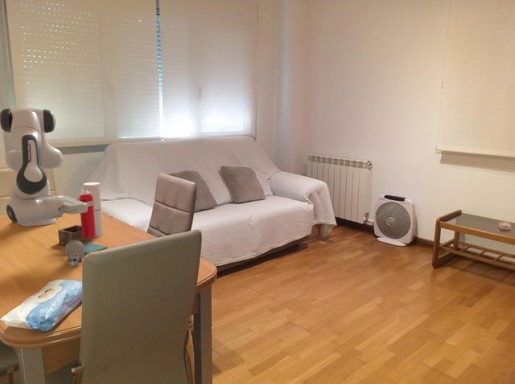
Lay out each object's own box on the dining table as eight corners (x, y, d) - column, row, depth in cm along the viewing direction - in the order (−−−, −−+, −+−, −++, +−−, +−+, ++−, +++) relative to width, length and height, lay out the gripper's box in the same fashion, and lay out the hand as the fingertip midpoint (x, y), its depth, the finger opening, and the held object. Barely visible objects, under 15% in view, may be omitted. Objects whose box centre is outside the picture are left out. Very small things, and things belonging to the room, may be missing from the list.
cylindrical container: (97, 237, 191) (94, 185, 186) (83, 236, 192) (80, 184, 187) (105, 232, 198) (102, 182, 192) (92, 231, 199) (89, 181, 194)
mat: (72, 250, 173) (72, 249, 173) (91, 244, 182) (91, 242, 182) (88, 255, 169) (88, 253, 168) (107, 248, 177) (107, 246, 177)
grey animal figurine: (63, 274, 156) (59, 257, 151) (68, 252, 165) (64, 237, 161) (83, 272, 158) (80, 256, 153) (87, 251, 167) (84, 235, 162)
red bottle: (97, 233, 177) (94, 189, 172) (93, 237, 171) (90, 191, 167) (84, 233, 176) (81, 189, 172) (80, 237, 171) (76, 191, 167)
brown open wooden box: (59, 242, 182) (58, 230, 181) (78, 236, 191) (77, 224, 190) (74, 246, 178) (73, 233, 177) (92, 240, 187) (92, 227, 185)
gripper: (64, 203, 154) (99, 198, 164) (44, 195, 167) (77, 190, 177) (65, 219, 155) (100, 213, 165) (45, 210, 169) (78, 204, 179)
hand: (88, 201), depth 171 cm, fingers closed on red bottle, 5 cm apart
